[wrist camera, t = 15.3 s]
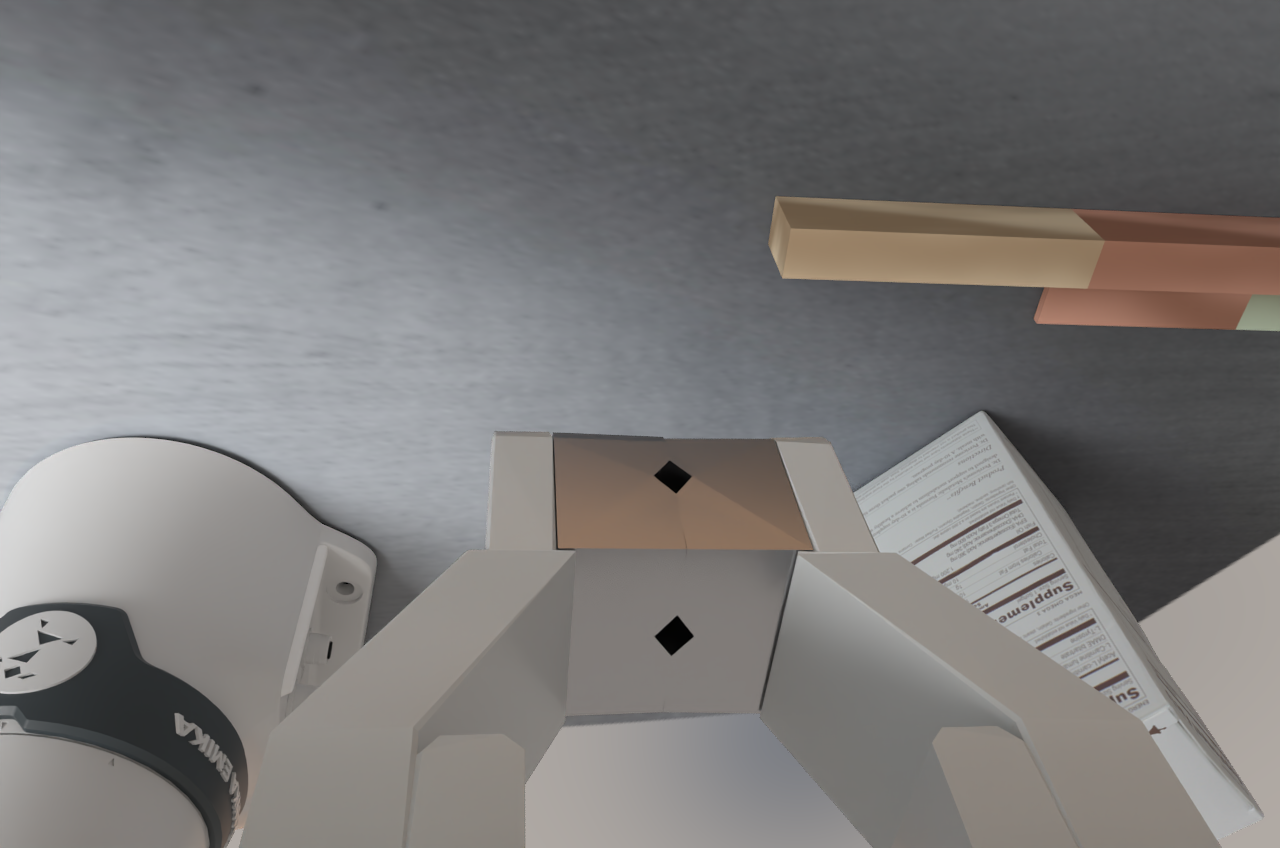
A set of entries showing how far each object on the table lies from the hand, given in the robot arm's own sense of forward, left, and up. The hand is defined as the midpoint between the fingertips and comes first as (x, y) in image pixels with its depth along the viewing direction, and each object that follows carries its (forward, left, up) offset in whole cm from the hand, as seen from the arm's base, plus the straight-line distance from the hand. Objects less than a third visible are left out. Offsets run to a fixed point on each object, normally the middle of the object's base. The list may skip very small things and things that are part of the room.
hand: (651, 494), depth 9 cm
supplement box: (-25, -19, -29) cm, 43 cm away
